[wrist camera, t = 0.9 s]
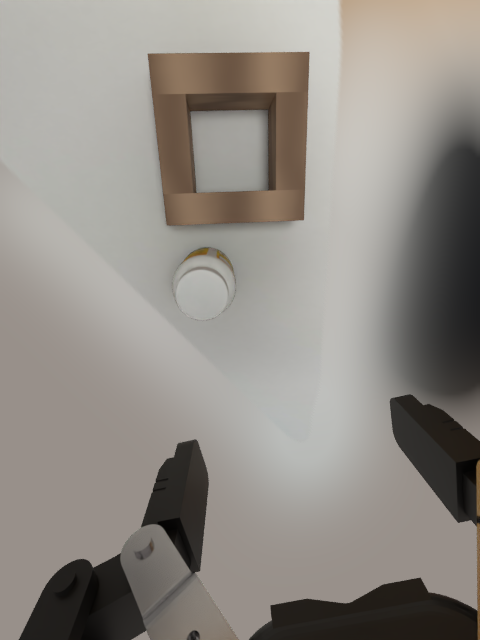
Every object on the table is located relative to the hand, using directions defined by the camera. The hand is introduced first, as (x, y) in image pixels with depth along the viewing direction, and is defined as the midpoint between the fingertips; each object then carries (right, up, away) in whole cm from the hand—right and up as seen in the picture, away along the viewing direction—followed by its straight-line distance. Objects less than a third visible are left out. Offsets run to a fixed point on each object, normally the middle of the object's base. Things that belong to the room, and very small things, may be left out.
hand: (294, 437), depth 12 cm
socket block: (-3, +20, +16) cm, 26 cm away
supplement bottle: (-6, +10, +19) cm, 23 cm away
